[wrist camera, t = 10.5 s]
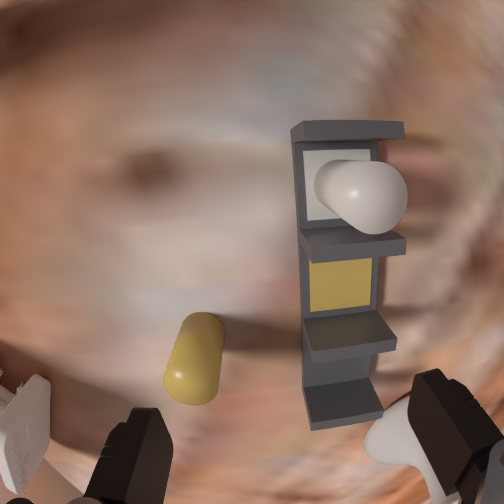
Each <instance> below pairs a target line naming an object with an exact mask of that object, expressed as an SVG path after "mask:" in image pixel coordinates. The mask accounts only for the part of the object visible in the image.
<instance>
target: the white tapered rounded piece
mask: <svg viewBox="0 0 504 504" xmlns="http://www.w3.org/2000/svg"><path fill="white" fill-rule="evenodd" d="M409 399H410V395H409V396H406V397H405V398H403V399H401V400H399V401H397V402H396V403H394V404H393V405H391V406H390V407H388V408H387V409H386V410H385V411H384V413H383V417H382V418H380V419H376V420H375V421H374V422H373V423H372V425H371V426H370V428H369V430H368V432H367V435H366V437H365V440H364V450H365V452H366V453H367V455H368V456H369V457H371V458H372V459H373V460H374V461H376V462H379V463H383V464H388V465H412V466H415V467H417V468H418V469H419V470H420V472H421V473H422V475H423V477H424V479H425V481H426V484H427V486H428V489H429V493H430V498H431V504H458V501H459V499H460V495H459V493H458V492H456V493H454V494H451V495H449V496H447V497H446V496H445V493H444V491H443V489H442V487H441V485H440V483H439V481H438V479H437V477H436V475H435V473H434V471H433V469H432V467H431V465H430V463H429V461H428V459H427V457H426V455H425V453H424V451H423V449H422V447H421V445H420V443H419V441H418V439H417V437H416V435H415V433H414V431H413V430H412V428H411V426H410V424H409V421H408V415H407V408H408V403H409Z"/></svg>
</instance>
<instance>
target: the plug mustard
mask: <svg viewBox="0 0 504 504" xmlns="http://www.w3.org/2000/svg"><path fill="white" fill-rule="evenodd" d="M224 337H225V329H224V326H223V324H222V322H221V321H220V320H219V319H218V318H217V317H215V316H214V315H212V314H209V313H205V312H197V313H193V314H191V315H189V316H188V317H187V318H186V319H185V320H184V321H183V323H182V326H181V329H180V331H179V334H178V337H177V340H176V342H175V345H174V348H173V350H172V353H171V356H170V359H169V361H168V364H167V367H166V370H165V373H164V376H163V386H164V389H165V390H166V392H167V393H168V394H169V395H170V396H171V397H172V398H173V399H175V400H176V401H178V402H181V403H183V404H187V405H203V404H206V403H208V402H210V401H211V400H213V399H214V398H215V396H216V395H217V392H218V386H219V378H220V370H221V361H222V353H223V345H224Z"/></svg>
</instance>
